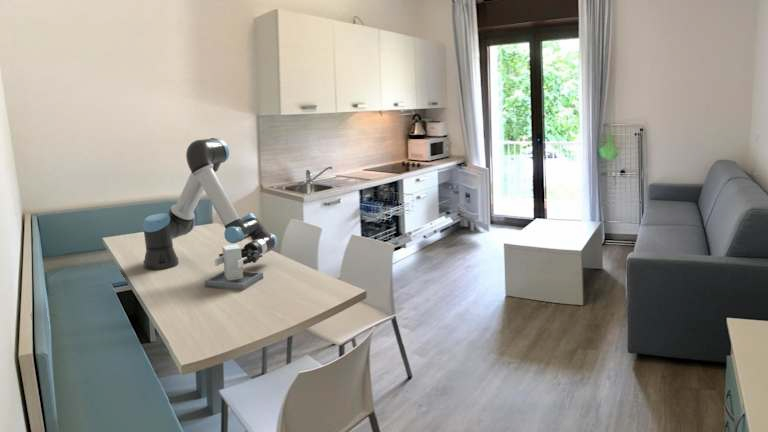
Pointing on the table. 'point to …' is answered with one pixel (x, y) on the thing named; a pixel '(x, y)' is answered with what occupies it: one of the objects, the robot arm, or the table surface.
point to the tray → (234, 281)
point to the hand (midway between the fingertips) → (226, 263)
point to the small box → (232, 262)
